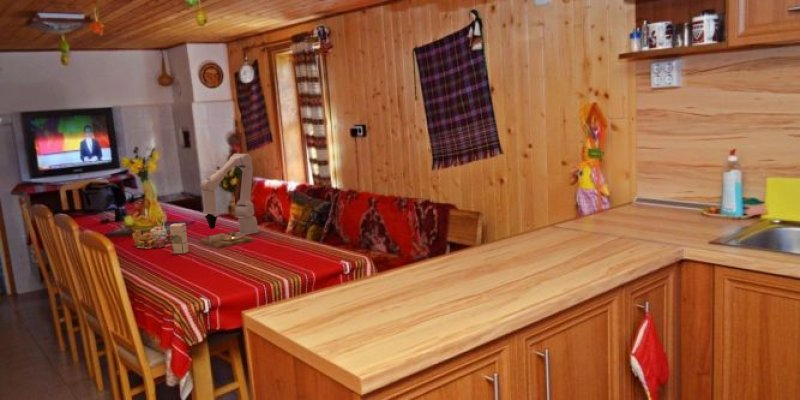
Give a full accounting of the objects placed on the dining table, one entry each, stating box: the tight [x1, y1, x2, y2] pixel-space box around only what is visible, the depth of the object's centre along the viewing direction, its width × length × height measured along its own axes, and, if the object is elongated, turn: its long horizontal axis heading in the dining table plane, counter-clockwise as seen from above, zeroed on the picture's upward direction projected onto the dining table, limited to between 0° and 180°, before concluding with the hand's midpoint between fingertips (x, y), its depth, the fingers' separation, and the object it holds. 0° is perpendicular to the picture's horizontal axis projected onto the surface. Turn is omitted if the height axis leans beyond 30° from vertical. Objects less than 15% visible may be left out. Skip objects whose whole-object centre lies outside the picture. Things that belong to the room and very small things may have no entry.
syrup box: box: [169, 222, 189, 255], centre depth 307 cm, size 6×6×14 cm
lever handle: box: [208, 231, 243, 243], centre depth 324 cm, size 18×11×3 cm, turn 130°
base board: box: [199, 231, 255, 249], centre depth 327 cm, size 20×22×2 cm
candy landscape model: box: [132, 226, 172, 250], centre depth 330 cm, size 25×24×9 cm
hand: (212, 228), depth 327 cm, fingers closed
